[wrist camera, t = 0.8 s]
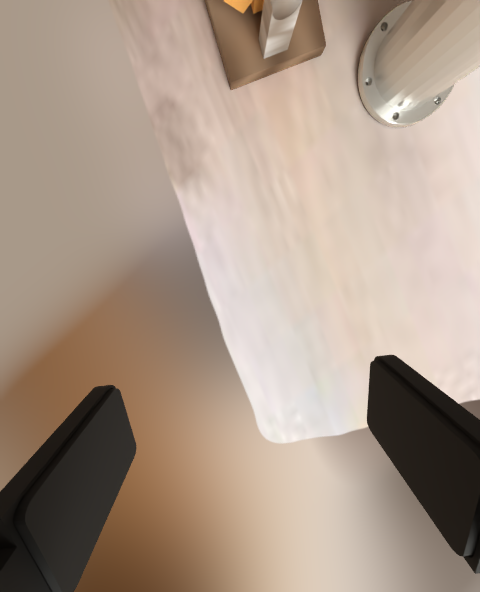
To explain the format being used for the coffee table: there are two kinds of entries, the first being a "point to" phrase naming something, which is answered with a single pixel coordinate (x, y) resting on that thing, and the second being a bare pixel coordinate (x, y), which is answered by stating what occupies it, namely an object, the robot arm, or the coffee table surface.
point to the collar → (246, 5)
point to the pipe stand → (265, 37)
